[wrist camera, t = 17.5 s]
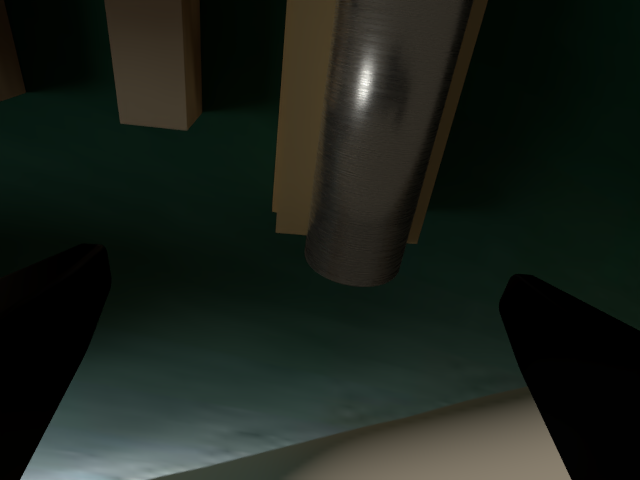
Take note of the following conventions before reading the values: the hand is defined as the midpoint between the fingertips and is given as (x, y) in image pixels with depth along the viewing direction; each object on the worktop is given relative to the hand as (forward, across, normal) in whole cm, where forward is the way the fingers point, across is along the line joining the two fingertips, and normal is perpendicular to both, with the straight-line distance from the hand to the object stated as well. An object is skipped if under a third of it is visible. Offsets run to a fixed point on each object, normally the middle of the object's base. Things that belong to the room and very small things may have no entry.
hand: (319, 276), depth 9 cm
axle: (+7, -2, -3) cm, 8 cm away
